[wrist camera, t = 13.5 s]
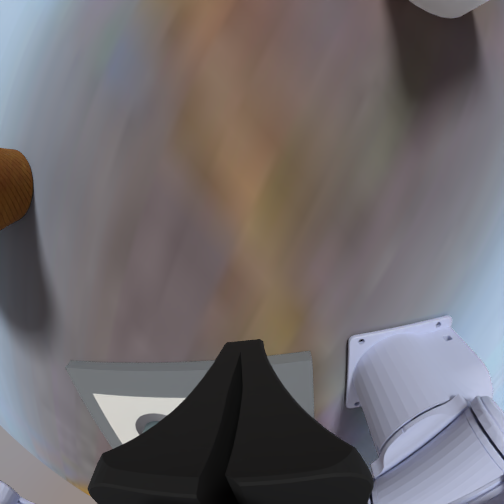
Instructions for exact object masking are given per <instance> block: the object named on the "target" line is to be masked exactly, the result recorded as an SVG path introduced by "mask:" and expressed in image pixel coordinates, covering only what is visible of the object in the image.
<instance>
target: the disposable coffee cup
mask: <svg viewBox="0 0 504 504" xmlns="http://www.w3.org/2000/svg"><path fill="white" fill-rule="evenodd" d="M32 193H33V179H32V173H31V169H30V166H29V163H28V161H27V160H26V158H25V156H24V155H23V154H22V153H21V152H19V151H17V150H13V149H4V148H0V230H2V229H4V228H5V227H7V226H8V225H10V224H12V223H14V222H15V221H18V220H19V219H21V218H22V217H23V216H24V215H25V213H26V212H27V210H28V208H29V206H30V203H31V198H32Z"/></svg>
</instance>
